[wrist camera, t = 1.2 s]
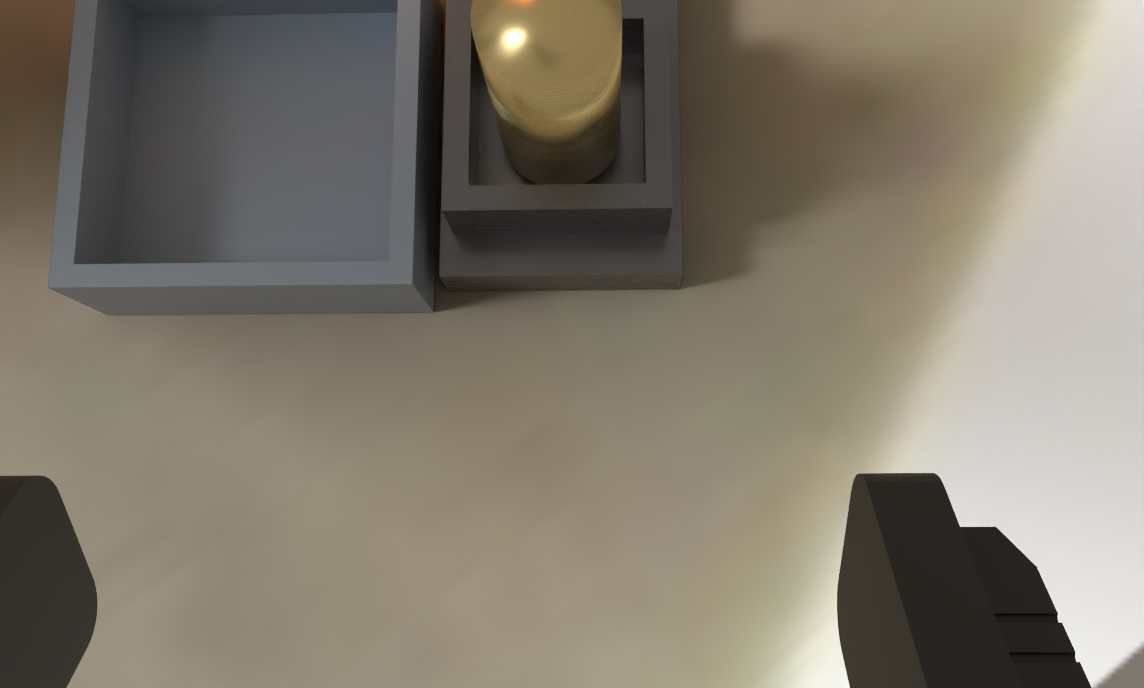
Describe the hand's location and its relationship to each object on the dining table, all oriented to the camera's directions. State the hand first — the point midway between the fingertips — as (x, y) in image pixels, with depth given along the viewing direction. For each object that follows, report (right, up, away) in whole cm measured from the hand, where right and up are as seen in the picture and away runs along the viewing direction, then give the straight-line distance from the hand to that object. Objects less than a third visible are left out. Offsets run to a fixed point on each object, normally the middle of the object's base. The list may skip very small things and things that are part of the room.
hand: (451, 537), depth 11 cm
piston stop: (+1, +9, +25) cm, 27 cm away
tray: (-9, +9, +28) cm, 30 cm away
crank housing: (+1, +11, +27) cm, 29 cm away
